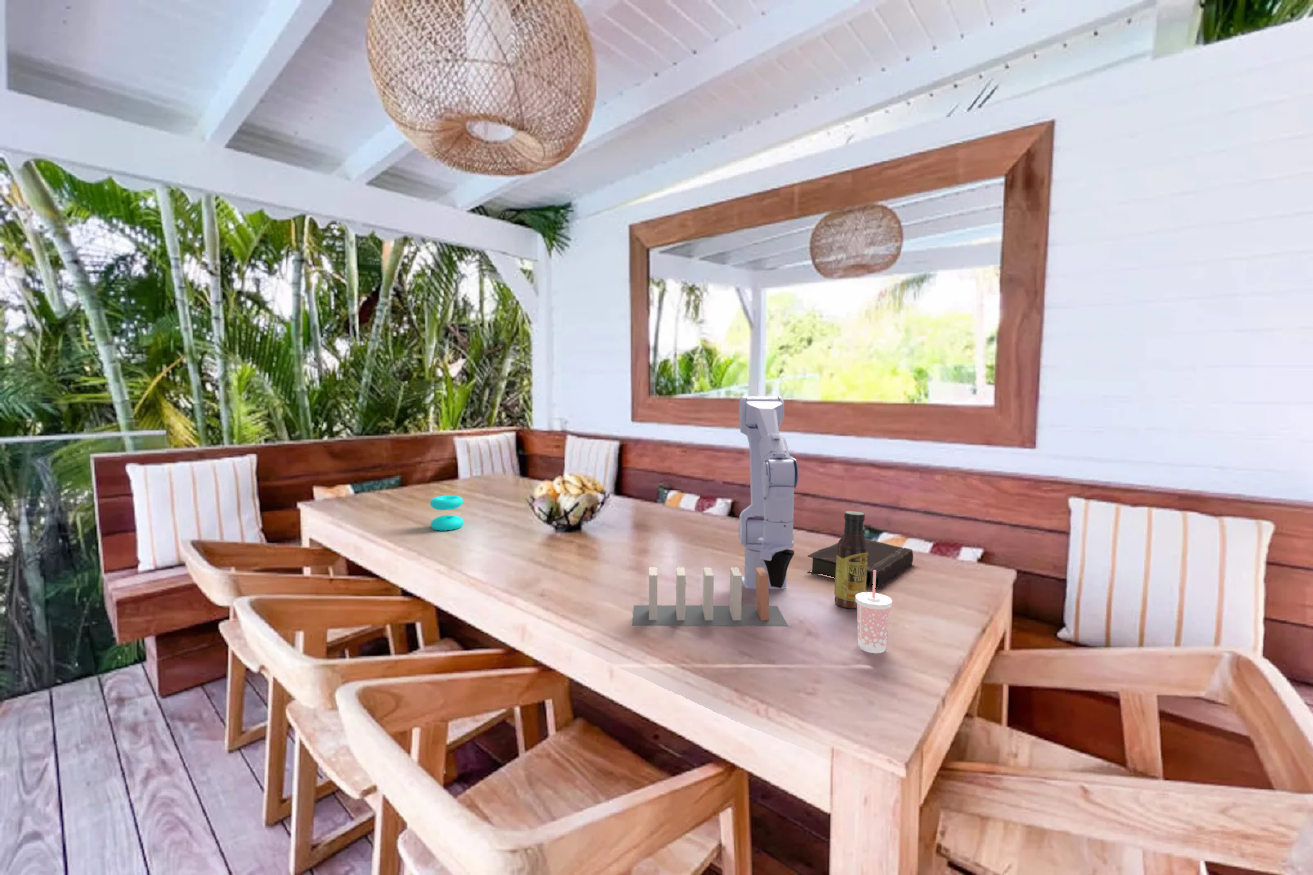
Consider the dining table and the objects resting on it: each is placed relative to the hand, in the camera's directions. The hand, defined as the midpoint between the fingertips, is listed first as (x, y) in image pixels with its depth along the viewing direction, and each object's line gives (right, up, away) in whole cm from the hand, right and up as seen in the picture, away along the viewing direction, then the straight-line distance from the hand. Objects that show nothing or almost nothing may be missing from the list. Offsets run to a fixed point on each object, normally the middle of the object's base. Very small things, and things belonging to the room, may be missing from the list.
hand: (776, 586), depth 113 cm
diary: (+28, -4, +32) cm, 43 cm away
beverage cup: (+14, -8, -12) cm, 20 cm away
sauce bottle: (+17, -6, +8) cm, 20 cm away
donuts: (-92, 0, +71) cm, 116 cm away
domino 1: (-25, -6, 0) cm, 25 cm away
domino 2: (-19, -6, 0) cm, 20 cm away
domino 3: (-14, -6, 0) cm, 15 cm away
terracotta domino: (-3, -6, +1) cm, 7 cm away
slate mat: (-14, -6, +1) cm, 15 cm away
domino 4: (-8, -6, 0) cm, 10 cm away
